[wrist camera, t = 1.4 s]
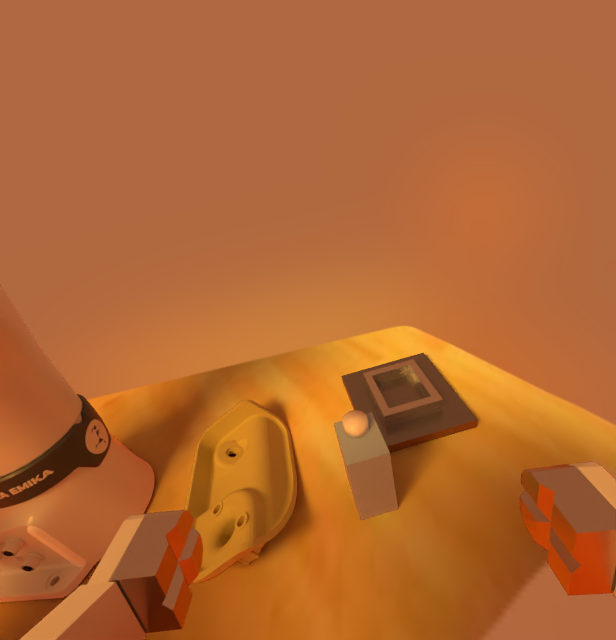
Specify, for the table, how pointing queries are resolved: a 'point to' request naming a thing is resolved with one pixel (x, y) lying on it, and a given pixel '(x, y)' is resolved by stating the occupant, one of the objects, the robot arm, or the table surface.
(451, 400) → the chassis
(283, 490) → the plastic component
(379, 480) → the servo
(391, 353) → the table surface
